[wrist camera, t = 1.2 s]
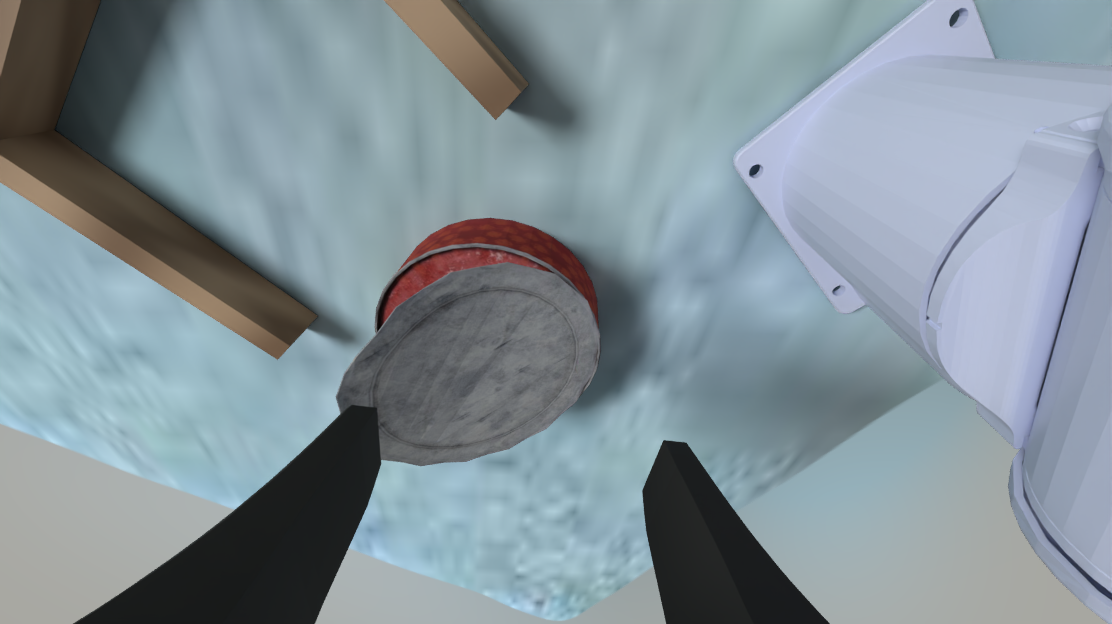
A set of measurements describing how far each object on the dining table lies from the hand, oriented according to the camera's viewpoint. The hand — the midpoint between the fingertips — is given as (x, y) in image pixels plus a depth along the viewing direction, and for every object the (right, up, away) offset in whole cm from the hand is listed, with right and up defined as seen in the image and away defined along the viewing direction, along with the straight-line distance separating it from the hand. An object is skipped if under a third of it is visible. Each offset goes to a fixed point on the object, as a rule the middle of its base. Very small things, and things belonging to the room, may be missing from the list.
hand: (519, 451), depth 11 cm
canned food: (-2, +4, +11) cm, 11 cm away
